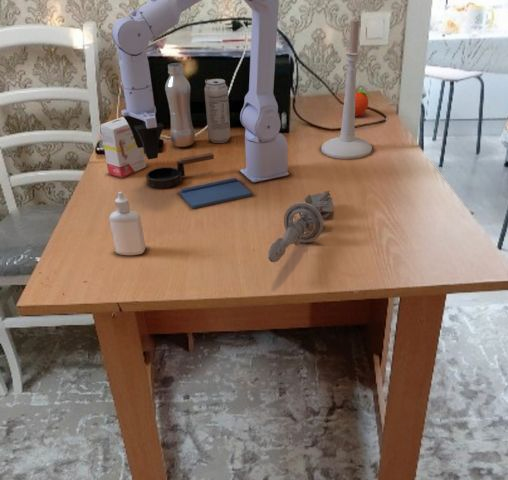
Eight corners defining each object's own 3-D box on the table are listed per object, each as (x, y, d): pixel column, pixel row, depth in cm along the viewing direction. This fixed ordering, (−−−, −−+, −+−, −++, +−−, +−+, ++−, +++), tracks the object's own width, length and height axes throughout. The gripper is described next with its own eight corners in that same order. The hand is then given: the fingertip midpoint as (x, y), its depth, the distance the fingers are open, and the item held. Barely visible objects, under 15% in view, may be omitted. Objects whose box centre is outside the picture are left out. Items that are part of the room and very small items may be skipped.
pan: (153, 191, 136) (150, 172, 133) (143, 179, 141) (140, 160, 138) (220, 177, 141) (218, 158, 138) (208, 166, 146) (206, 148, 143)
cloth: (236, 181, 138) (235, 177, 138) (251, 195, 132) (251, 191, 131) (179, 193, 134) (179, 188, 134) (192, 208, 128) (192, 204, 127)
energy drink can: (229, 135, 163) (226, 77, 154) (231, 142, 159) (228, 83, 149) (207, 137, 163) (203, 79, 153) (209, 144, 158) (204, 85, 149)
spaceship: (241, 241, 99) (283, 231, 95) (305, 182, 126) (340, 172, 122) (257, 284, 102) (298, 275, 98) (317, 217, 129) (351, 208, 125)
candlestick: (331, 138, 159) (338, 11, 140) (378, 144, 154) (391, 14, 135) (313, 154, 150) (318, 21, 131) (362, 161, 145) (373, 24, 127)
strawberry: (373, 113, 174) (375, 87, 170) (368, 120, 169) (370, 94, 165) (346, 111, 177) (348, 85, 172) (340, 118, 172) (342, 92, 167)
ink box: (121, 178, 142) (112, 128, 135) (108, 174, 144) (98, 125, 137) (147, 167, 147) (140, 118, 140) (133, 163, 150) (125, 115, 142)
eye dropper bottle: (134, 260, 111) (123, 200, 104) (112, 252, 114) (100, 193, 106) (149, 250, 114) (139, 191, 107) (127, 243, 117) (116, 185, 109)
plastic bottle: (167, 148, 157) (156, 67, 144) (178, 139, 162) (170, 60, 149) (188, 151, 155) (180, 68, 142) (200, 142, 160) (192, 62, 147)
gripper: (109, 80, 123) (120, 145, 131) (127, 97, 112) (138, 167, 121) (142, 75, 125) (151, 139, 134) (162, 92, 115) (171, 160, 123)
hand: (147, 152), depth 127 cm, fingers open, 7 cm apart
